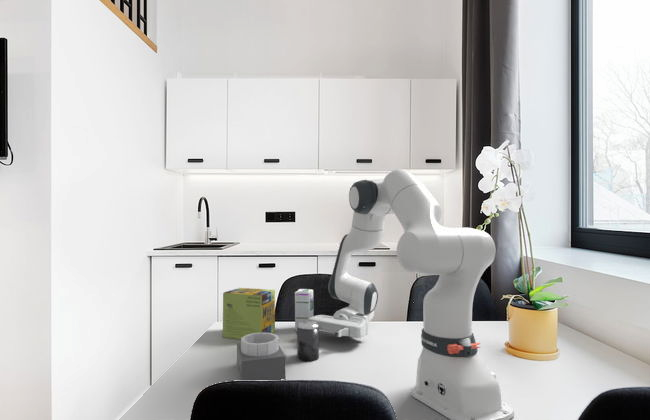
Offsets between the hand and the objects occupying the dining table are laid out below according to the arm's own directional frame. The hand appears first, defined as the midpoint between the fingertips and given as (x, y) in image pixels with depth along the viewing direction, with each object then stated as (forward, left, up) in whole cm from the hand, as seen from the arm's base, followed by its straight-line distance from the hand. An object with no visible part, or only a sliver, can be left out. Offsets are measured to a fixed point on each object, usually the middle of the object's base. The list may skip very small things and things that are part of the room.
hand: (324, 331), depth 119 cm
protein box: (+22, +21, -6) cm, 30 cm away
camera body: (-11, +22, -5) cm, 25 cm away
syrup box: (+22, +1, -6) cm, 22 cm away
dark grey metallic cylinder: (-5, +7, -5) cm, 10 cm away
